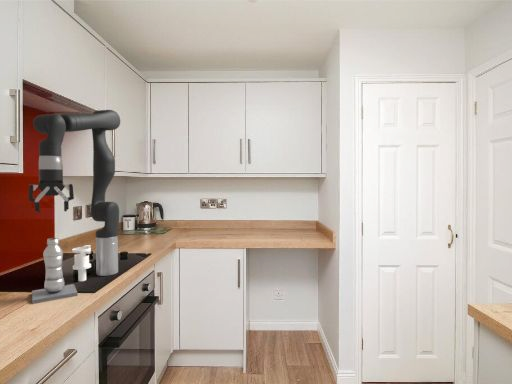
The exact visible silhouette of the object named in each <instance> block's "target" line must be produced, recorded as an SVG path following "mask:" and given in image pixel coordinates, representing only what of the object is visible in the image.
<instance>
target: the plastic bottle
mask: <svg viewBox="0 0 512 384" xmlns="http://www.w3.org/2000/svg"><path fill="white" fill-rule="evenodd" d="M59 240H60V239H59V238H58V237H51V238H47V240H46V245H47V246H46V247H45V249H44V250H43V253H42V255H43V262H44V266H45V278H44V279H45V280H44V286H43V287H44V288H43V289H45V290H46V291H47V292H57V291H61V290H62V289H63V288H64V286H65V278H64V277H63V276H64V273H63V256H64V251H63V249H62V247H61V246H60V245H59V244H60V241H59Z"/></svg>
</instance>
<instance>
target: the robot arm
mask: <svg viewBox="0 0 512 384" xmlns="http://www.w3.org/2000/svg"><path fill="white" fill-rule="evenodd" d="M120 125H121V118H120V115H119V113H118V112H117V111H116V110H113V109H99V110H94V111H93V112H92V113H62V114H58V113H50V114H49V113H47V114H39V115H37V116H36V117H34V119H33V121H32V126H33V128H34V129H35V131H36V132H38V133H40V134H43V135H47V136H46V138H45V139H42V140H40V141H39V143H38V153H39V155H38V156H39V158H38V182H39V183H38V184H29V185H28V186H29V187H28V202H33V203H34V211H35V212H36V213H37V214H40V213H41V211H40V210H41V209H40V208H41V207H40V201H41V199H43V198H44V196H46V197H50V196H54V197H55V196H60V197H61V199H62V200H64V201H63V211H64V212H67V211H68V210H69V209H70V208H69V201H72V200H74V199H75V196H74V195H75V194H74V185H73V184H72V183H68V184H65V183H64V165H63V158H62V157H63V155H62V145H63V142H64V137H65V133H67V132H68V133H70V132H71V133H73V132H81V131H86V130H91V133H92V134H91V135H92V148H93V149H92V150H93V154H92V155H93V156H92V158H93V160H92V171H93V172H92V173H93V174H92V175H93V176H92V177H93V178H92V195H91V196H92V197H91V205H90V215H91V216H90V217H91V218H92V220H93V221H94V222H104V226H103V227H102V228H100V229H98V230H96V231H95V258H96V259H95V260H96V261H95V262H96V266H95V267H96V275H97V276H101V277H102V276H103V277H104V276H105V277H106V276H112V275H116V274H117V273H119V248H118V246H119V245H118V244H119V242H118V240H119V239H118V232H119V227H120V207H119V205H118V203H117V202H115V201H106V194H107V193H106V192H107V189H108V187H109V185H110V184H111V183H112V180H113V178H114V177H115V174H116V160H115V159H116V158H115V155H114V154H113V152H112V150H111V148H110V146H109V145H108V142H107V137H106V131H115V130H117V129H118V128H119V127H120ZM65 188H66V190H67V191H68V194H69V196H67V195H65V194H64V192H63V190H64V189H65ZM36 189H39V190H40V191H39V192H40V193H39V194H38V195H37V197H36V198H34V191H36Z"/></svg>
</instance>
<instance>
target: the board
mask: <svg viewBox="0 0 512 384" xmlns="http://www.w3.org/2000/svg"><path fill="white" fill-rule="evenodd" d="M77 296H78V291H77V288H76V286H75V284H74V283H72V284H66V285H65V284H64V288H63V289H62V290H61V291H57V292H47V291H46V290H45V288H41V289H35V290H32V291H31V301H32V304H38V303H43V302H45V303H46V302H49V301H54V300H55V301H56V300H60V299H66V298H70V297H77Z"/></svg>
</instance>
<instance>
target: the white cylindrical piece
mask: <svg viewBox="0 0 512 384" xmlns="http://www.w3.org/2000/svg"><path fill="white" fill-rule="evenodd" d="M91 247H92V245H91V244H88V245H87V244H85V245H83V246H78V247H74V248H72V250H71V252H72V253H74V255H73V256H74V264H73V265H72V270H76V271H77V274H78V275H77V276H78V277H77V279H78V280H77V281H78V282H85V281H87V269H90V268H92V263H90V254H92V250H91V249H92V248H91ZM87 254H88V255H87Z"/></svg>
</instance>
